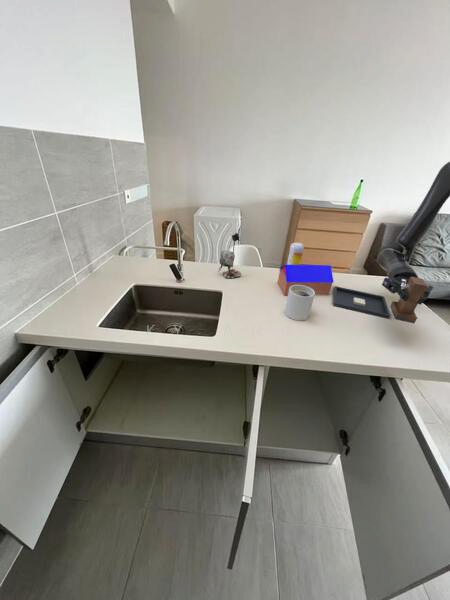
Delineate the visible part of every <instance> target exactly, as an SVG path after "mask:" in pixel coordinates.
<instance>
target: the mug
mask: <svg viewBox="0 0 450 600" xmlns="http://www.w3.org/2000/svg"><path fill="white" fill-rule="evenodd" d="M314 299H315V292H314V290H313V289H311V288H309V287H307V286H303V285H293V286H291V287H290V288H289V293H288V296H287V298H286V302H285V307H284V314H285V315H286V317H287V318H289V319H292V320H294V321H306V320H307V319H308V318H309V316H310V314H311V310H312V305H313V303H314Z"/></svg>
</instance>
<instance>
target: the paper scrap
mask: <svg viewBox="0 0 450 600" xmlns="http://www.w3.org/2000/svg"><path fill="white" fill-rule="evenodd" d="M353 300H354V304H357V305H361V306H365V300H364V299H360V298H355V297H354V299H353Z"/></svg>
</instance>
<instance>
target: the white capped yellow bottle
mask: <svg viewBox="0 0 450 600" xmlns="http://www.w3.org/2000/svg"><path fill="white" fill-rule="evenodd" d="M304 248H305V246H304V244H303V243H302V242H292V243H291V244H290V247H289V252H288V253H289V254H288V257H287V261H286V262H287V263H286V265H301V262H302V256H303V254H304Z"/></svg>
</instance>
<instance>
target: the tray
mask: <svg viewBox="0 0 450 600" xmlns="http://www.w3.org/2000/svg"><path fill="white" fill-rule="evenodd" d="M354 297H355V298H360V299H364V300H365V306H361V305H357V304H354V300H353V299H354ZM332 301H333V302H332V307H334V308H335V307H336V308H340V309H344V310H349V311H352V312H356V313H361V314H365V315H370V316H374V317H378V318H383V319H387V320H390V318H391V313H390V310H389V307H388V303H387V301H386V297H385V295H384V296H383V295H379V294H374V293H370V292H366V291H365V292H364V291H360V290H355V289H352V288H351V289H350V288H346V287H340V286H334V288H333V300H332Z"/></svg>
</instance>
